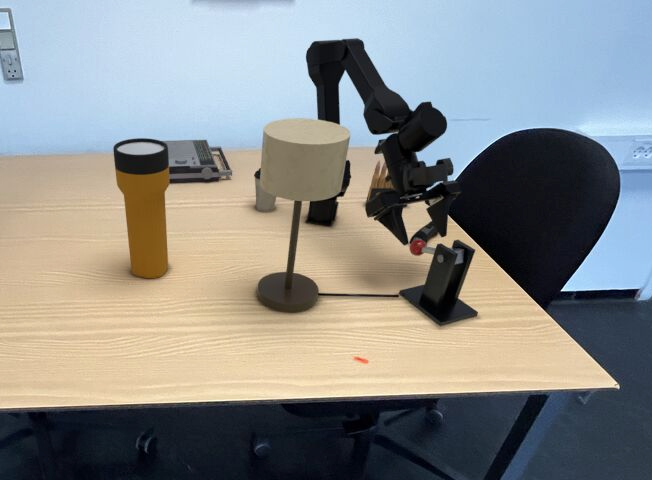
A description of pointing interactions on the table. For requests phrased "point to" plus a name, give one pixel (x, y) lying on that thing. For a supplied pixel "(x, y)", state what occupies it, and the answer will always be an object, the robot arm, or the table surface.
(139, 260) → the flashlight
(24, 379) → the table surface
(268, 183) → the desk lamp
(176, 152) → the radio
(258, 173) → the coffee cup
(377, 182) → the ammunition clip
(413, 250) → the lever
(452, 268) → the switch bracket
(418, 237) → the electric trimmer
